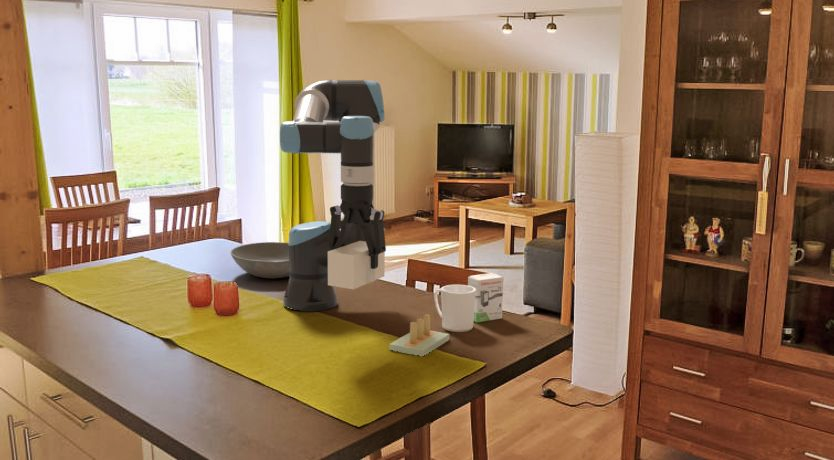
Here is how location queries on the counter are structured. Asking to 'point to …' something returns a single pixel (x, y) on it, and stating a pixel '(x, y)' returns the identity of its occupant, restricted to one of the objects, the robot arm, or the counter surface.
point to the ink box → (487, 296)
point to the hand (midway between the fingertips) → (356, 279)
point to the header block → (419, 338)
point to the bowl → (263, 259)
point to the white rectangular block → (351, 266)
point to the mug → (456, 307)
